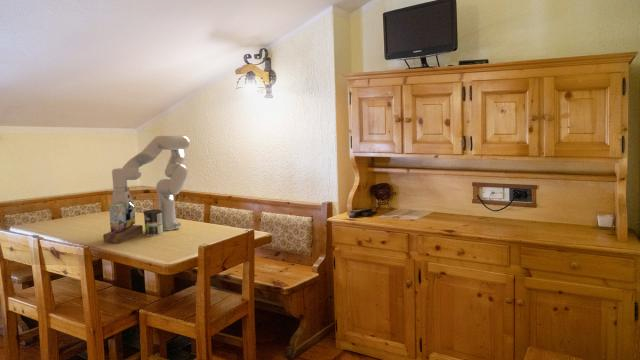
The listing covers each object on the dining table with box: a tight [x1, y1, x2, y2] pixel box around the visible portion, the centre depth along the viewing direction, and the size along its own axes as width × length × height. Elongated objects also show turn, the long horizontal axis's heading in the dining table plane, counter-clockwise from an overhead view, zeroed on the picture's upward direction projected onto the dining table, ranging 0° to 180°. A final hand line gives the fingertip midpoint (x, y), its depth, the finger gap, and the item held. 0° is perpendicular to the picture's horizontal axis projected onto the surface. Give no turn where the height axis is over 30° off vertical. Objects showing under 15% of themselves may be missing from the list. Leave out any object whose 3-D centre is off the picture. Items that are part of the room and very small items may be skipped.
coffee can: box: [143, 209, 164, 237], centre depth 275 cm, size 10×10×14 cm
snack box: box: [108, 199, 136, 232], centre depth 265 cm, size 21×6×15 cm, turn 178°
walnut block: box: [102, 224, 144, 245], centre depth 266 cm, size 10×24×5 cm, turn 171°
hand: (123, 219), depth 266 cm, fingers closed on snack box, 6 cm apart
